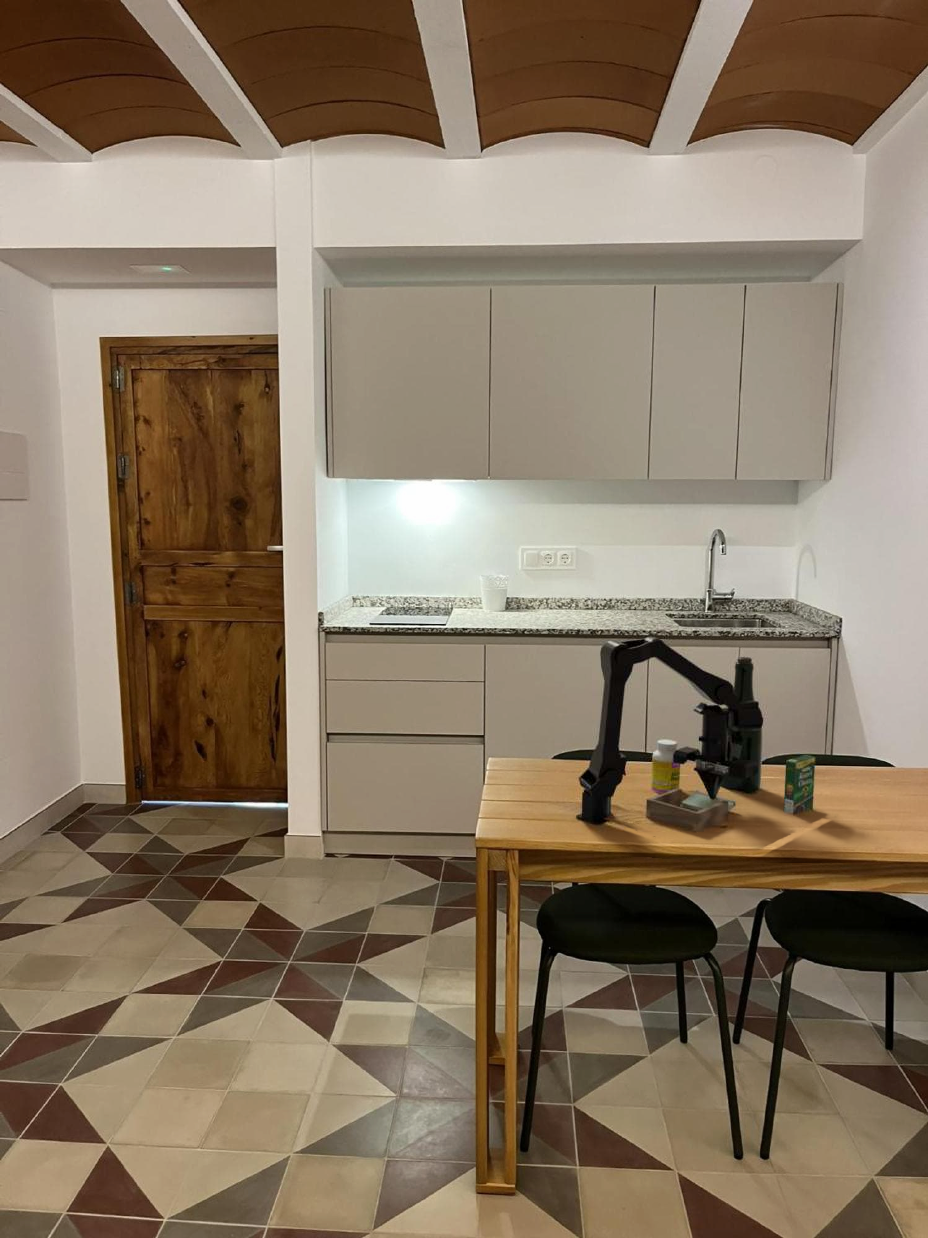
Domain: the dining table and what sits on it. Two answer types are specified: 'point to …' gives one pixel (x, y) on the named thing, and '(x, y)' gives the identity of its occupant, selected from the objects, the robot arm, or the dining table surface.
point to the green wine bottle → (745, 732)
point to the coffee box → (799, 784)
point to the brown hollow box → (684, 812)
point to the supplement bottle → (665, 767)
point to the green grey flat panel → (704, 801)
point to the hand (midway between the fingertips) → (712, 798)
